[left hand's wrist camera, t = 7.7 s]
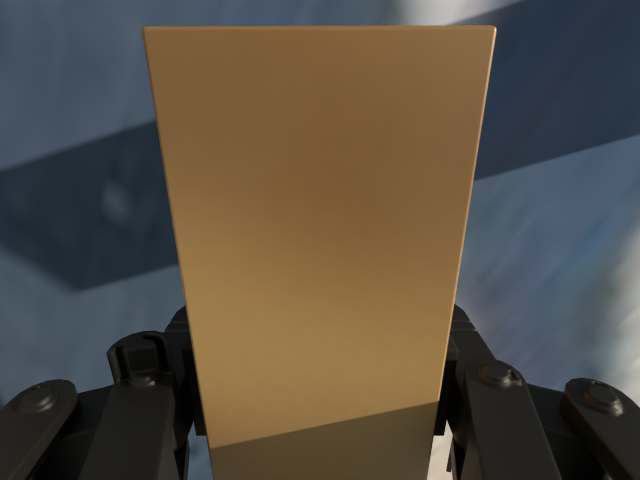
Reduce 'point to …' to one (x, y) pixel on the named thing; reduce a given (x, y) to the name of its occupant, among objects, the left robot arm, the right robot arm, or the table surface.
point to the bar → (319, 233)
